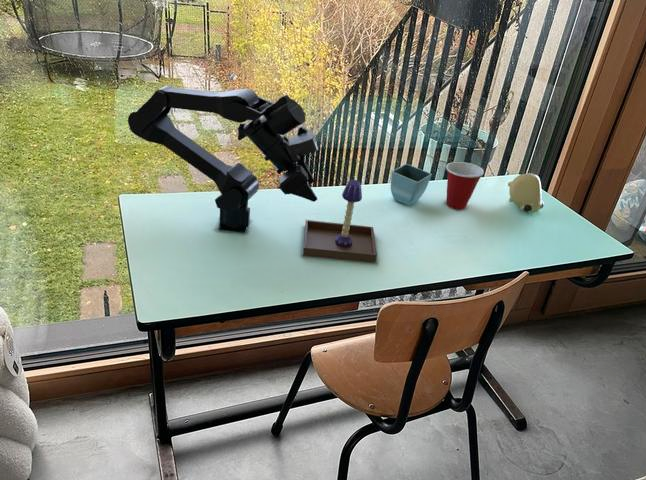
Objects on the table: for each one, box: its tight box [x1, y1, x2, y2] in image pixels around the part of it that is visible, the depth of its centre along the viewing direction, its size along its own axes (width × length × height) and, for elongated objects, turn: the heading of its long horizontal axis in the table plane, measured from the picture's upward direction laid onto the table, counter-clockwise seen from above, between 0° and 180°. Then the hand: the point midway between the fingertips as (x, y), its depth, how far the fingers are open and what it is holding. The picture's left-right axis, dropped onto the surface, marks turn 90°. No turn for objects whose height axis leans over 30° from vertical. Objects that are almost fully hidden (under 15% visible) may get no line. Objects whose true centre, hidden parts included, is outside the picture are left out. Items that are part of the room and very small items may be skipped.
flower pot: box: [390, 163, 432, 207], centre depth 162 cm, size 9×9×9 cm
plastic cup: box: [445, 161, 485, 211], centre depth 164 cm, size 11×11×12 cm
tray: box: [302, 219, 378, 264], centre depth 138 cm, size 17×13×2 cm
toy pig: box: [507, 173, 545, 214], centre depth 171 cm, size 10×12×11 cm
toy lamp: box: [335, 179, 363, 247], centre depth 134 cm, size 5×5×17 cm
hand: (314, 191), depth 134 cm, fingers open, 9 cm apart
